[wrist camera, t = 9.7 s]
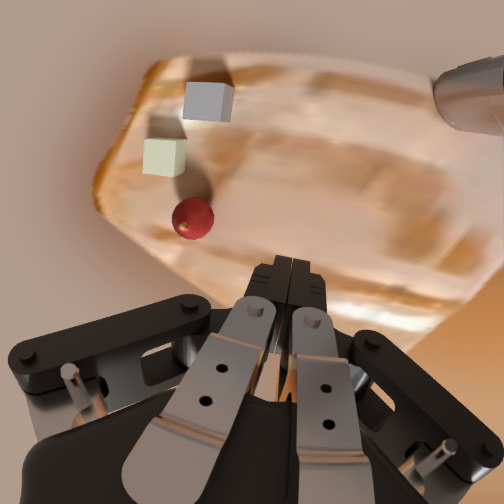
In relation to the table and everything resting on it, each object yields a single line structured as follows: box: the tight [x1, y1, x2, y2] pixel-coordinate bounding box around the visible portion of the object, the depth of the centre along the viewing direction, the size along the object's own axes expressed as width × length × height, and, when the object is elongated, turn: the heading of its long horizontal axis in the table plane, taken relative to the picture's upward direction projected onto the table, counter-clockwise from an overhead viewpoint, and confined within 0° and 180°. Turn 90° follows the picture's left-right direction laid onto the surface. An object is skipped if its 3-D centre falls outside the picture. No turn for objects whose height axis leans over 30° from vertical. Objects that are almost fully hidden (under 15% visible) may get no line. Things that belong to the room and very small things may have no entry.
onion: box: [172, 197, 214, 240], centre depth 40 cm, size 6×6×8 cm
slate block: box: [182, 82, 235, 122], centre depth 35 cm, size 5×5×5 cm
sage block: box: [143, 137, 187, 177], centre depth 39 cm, size 5×5×4 cm
